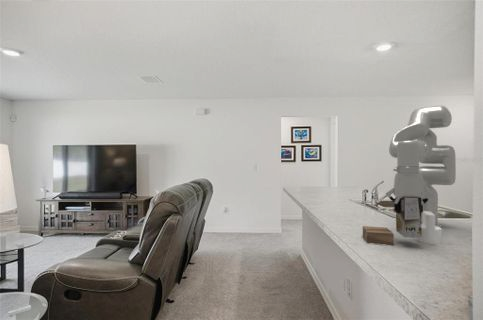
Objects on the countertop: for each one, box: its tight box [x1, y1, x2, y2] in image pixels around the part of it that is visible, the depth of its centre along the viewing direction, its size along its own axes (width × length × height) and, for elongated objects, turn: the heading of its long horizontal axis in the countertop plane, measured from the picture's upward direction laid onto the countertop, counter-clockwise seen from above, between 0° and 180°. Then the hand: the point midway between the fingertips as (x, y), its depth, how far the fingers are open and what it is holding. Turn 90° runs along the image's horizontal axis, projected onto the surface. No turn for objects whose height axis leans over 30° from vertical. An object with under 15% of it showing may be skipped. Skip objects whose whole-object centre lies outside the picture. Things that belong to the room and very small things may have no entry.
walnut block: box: [362, 225, 395, 246], centre depth 111 cm, size 10×10×5 cm
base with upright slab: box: [415, 211, 443, 245], centre depth 111 cm, size 9×9×12 cm
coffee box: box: [395, 197, 422, 239], centre depth 106 cm, size 9×6×16 cm
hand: (408, 213), depth 106 cm, fingers closed on coffee box, 7 cm apart
